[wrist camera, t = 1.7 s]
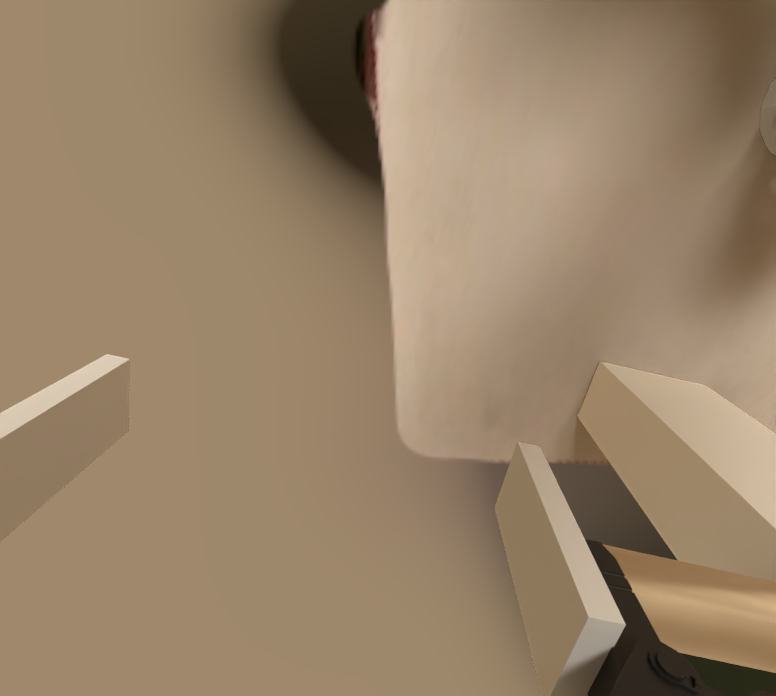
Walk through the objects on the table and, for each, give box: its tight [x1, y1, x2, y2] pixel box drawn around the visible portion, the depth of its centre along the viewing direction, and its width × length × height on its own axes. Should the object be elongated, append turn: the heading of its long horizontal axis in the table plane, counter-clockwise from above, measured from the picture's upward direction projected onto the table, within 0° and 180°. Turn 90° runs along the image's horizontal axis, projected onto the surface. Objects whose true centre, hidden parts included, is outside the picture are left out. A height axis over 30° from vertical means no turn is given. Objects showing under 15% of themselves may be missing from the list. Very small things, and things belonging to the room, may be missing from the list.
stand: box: [577, 361, 776, 582], centre depth 39 cm, size 7×12×28 cm, turn 78°
